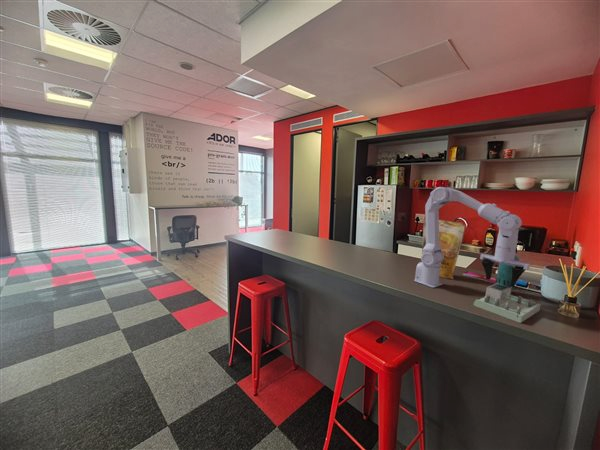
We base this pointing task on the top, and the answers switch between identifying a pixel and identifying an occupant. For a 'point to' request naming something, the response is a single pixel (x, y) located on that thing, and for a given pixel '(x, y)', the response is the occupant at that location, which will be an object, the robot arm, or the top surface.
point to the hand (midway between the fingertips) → (500, 282)
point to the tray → (510, 307)
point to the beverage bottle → (505, 273)
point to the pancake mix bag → (448, 245)
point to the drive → (498, 293)
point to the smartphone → (479, 277)
